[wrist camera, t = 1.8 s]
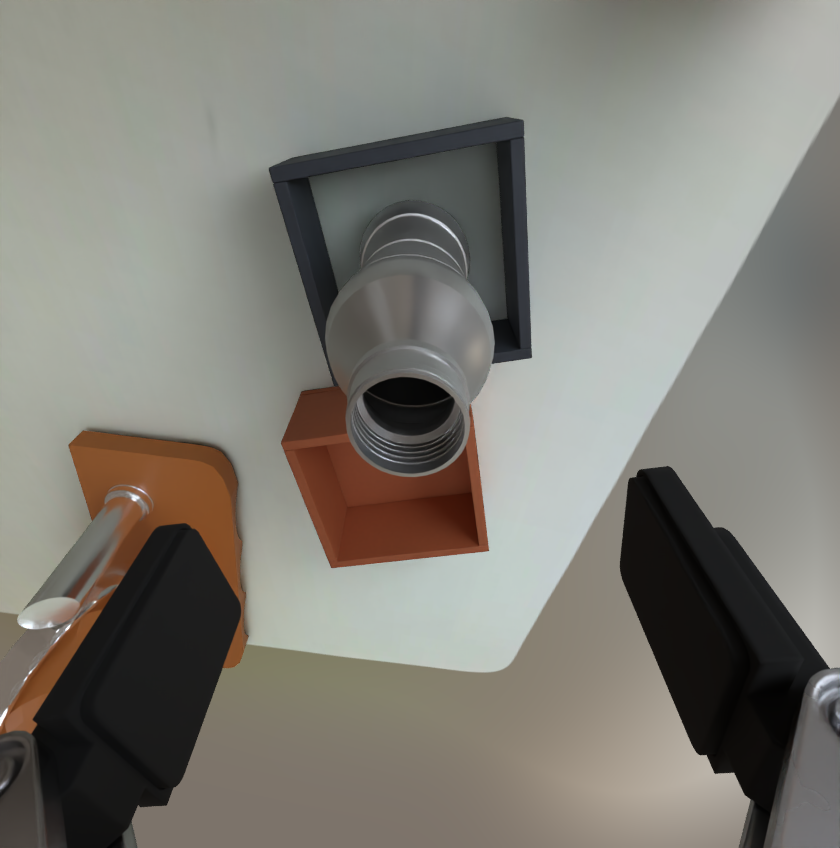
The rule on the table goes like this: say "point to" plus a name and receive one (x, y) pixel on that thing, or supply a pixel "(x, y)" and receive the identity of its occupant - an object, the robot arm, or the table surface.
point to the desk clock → (118, 552)
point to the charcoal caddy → (295, 171)
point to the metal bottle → (410, 341)
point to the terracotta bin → (379, 493)
